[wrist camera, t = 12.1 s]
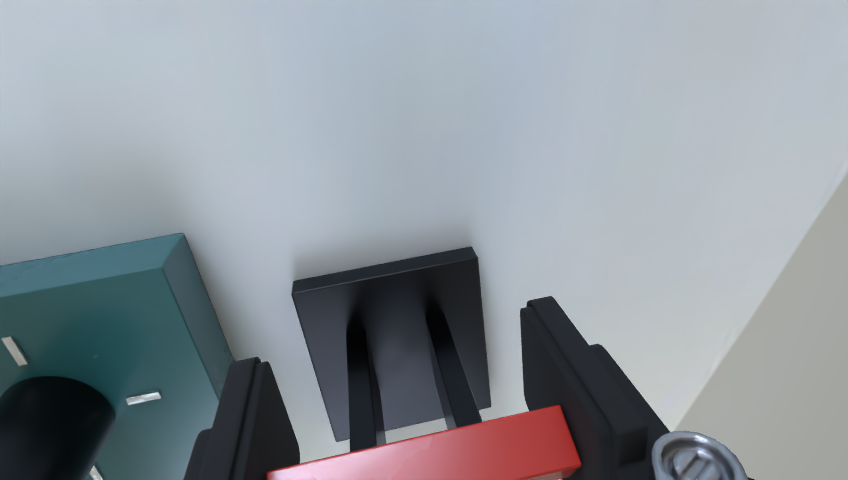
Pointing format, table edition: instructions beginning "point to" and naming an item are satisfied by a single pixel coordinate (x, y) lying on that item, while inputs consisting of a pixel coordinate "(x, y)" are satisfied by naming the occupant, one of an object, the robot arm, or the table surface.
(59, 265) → the dial panel
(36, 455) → the knob
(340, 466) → the toaster lever
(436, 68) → the table surface
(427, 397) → the black upright frame
